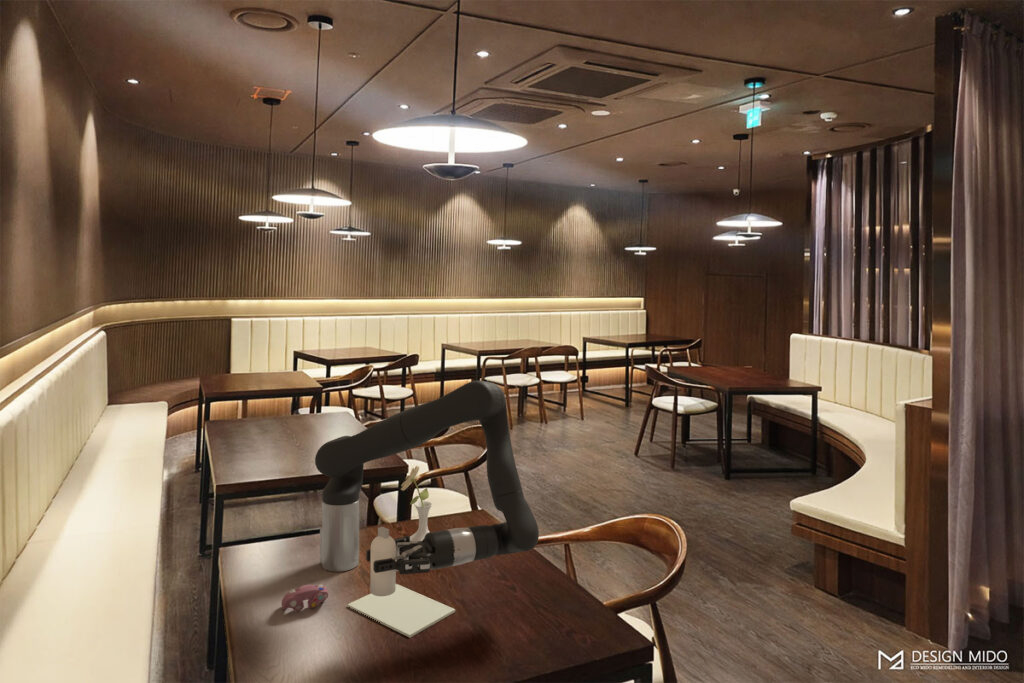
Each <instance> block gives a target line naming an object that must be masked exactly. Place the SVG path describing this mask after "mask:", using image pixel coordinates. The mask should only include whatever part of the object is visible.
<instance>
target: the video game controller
mask: <svg viewBox="0 0 1024 683" xmlns="http://www.w3.org/2000/svg"><path fill="white" fill-rule="evenodd" d="M328 598H329V590H328V588H327V587H326V586H325V585H323V584H322V583H320V584H304V585H302V586H299V587H297V588H295V589H293V588H291V589H289V591H288V592H286V593H285V595H284V596H283V597H282V599H281V608H282V609H283V610H287V609H292V610H293V611H294V612H300V611H302V610H303V609H304V607H305V605H304V601H307V606H308V608H309V609H314V608H313V607H315V608H317V607H318V606H319V604H320V603H324V602H325V601H326V600H327V599H328ZM299 610H300V611H299Z"/></svg>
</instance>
